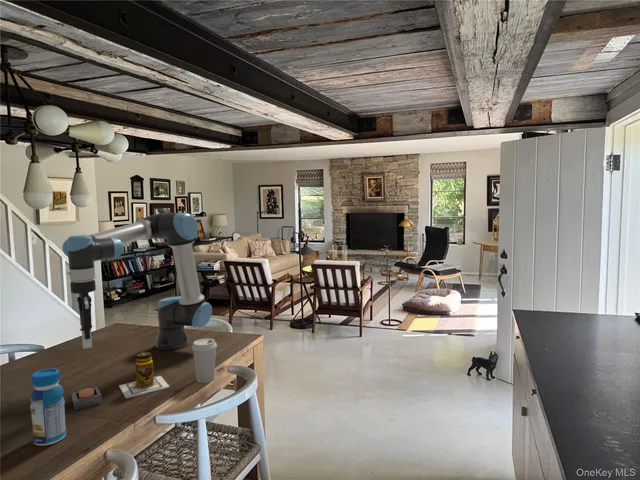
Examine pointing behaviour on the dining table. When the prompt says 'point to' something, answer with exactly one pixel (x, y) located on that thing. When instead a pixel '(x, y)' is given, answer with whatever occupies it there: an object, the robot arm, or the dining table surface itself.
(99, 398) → the button box
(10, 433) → the dining table surface
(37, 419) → the beverage bottle
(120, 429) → the dining table surface
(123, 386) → the white rectangular plate
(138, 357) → the condiment
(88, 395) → the button
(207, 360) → the coffee cup
